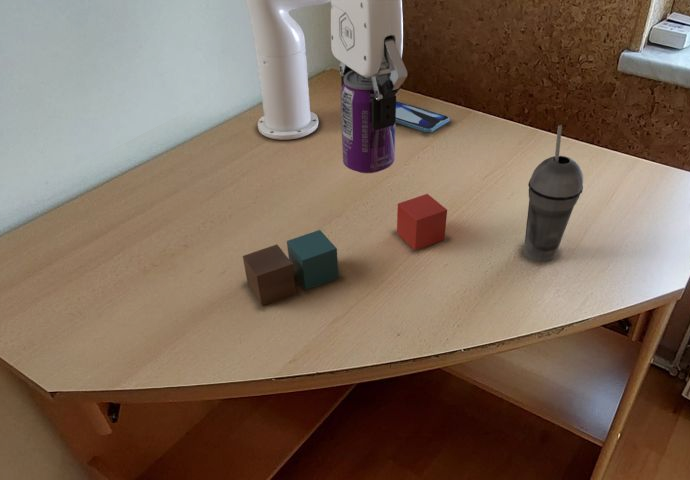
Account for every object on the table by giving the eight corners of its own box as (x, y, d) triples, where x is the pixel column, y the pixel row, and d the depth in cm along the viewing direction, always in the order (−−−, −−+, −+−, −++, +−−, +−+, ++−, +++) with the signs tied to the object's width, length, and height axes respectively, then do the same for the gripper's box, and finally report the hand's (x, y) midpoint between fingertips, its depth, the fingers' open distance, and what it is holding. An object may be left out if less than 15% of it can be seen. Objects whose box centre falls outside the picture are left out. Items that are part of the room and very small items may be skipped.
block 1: (247, 285, 93) (242, 255, 89) (281, 273, 94) (277, 243, 90) (261, 306, 89) (256, 276, 85) (296, 293, 91) (292, 263, 87)
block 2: (290, 270, 95) (286, 240, 91) (322, 259, 96) (319, 229, 92) (305, 290, 91) (302, 260, 87) (338, 278, 93) (336, 248, 89)
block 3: (396, 232, 100) (397, 203, 96) (425, 222, 101) (427, 193, 97) (415, 250, 96) (416, 220, 92) (444, 239, 98) (447, 209, 94)
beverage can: (391, 179, 83) (393, 89, 74) (339, 176, 84) (335, 87, 75) (397, 152, 87) (399, 66, 79) (347, 150, 89) (345, 64, 80)
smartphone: (393, 99, 133) (451, 116, 125) (393, 103, 134) (451, 121, 126) (371, 111, 129) (429, 130, 121) (371, 116, 130) (428, 135, 122)
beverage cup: (556, 273, 90) (590, 145, 76) (507, 259, 93) (532, 133, 79) (570, 246, 95) (605, 121, 80) (524, 234, 98) (550, 110, 83)
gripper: (302, -51, 73) (313, 98, 85) (377, -16, 61) (376, 150, 74) (358, -62, 75) (360, 86, 87) (440, -30, 63) (429, 134, 76)
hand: (368, 114), depth 80 cm, fingers closed on beverage can, 7 cm apart
